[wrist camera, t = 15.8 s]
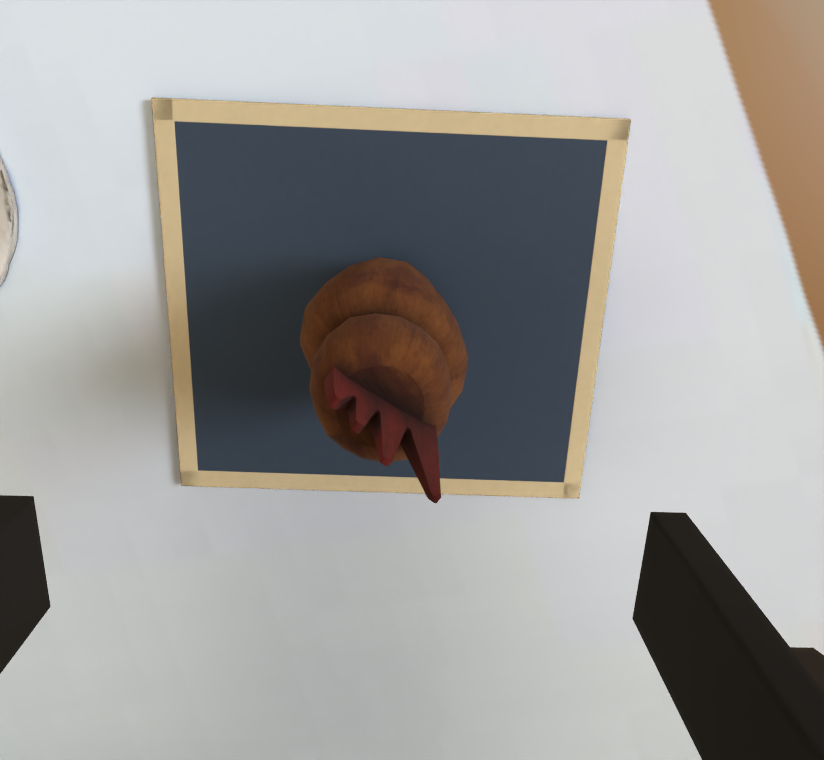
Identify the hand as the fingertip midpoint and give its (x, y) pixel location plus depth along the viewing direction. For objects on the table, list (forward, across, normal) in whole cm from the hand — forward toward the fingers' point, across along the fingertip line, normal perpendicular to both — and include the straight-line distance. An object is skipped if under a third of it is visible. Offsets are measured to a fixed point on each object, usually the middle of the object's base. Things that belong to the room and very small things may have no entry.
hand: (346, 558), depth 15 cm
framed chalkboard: (+19, +1, +1) cm, 19 cm away
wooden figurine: (+18, +1, +1) cm, 18 cm away
